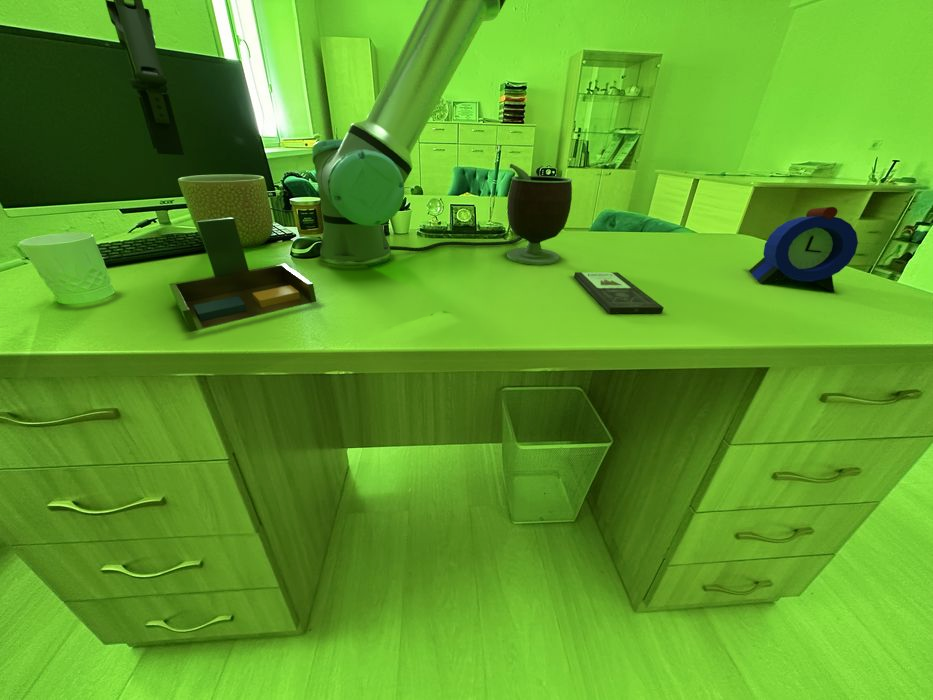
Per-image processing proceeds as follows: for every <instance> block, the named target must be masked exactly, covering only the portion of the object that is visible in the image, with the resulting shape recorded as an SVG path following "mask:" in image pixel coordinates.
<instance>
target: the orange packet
mask: <svg viewBox="0 0 933 700" xmlns="http://www.w3.org/2000/svg"><path fill="white" fill-rule="evenodd" d="M252 295H253V298H254V300H255V301H256V302H257V304H258V305H259V306H260V307H261V308H262V307H266V306H271V305H275V304H279V303H284V302H288V301H292V300H297V299H300V294H299V291H297V290H296V289H295V288H294V287H292V286H291V285H289V286H284V287H279V288H274V289H269V290H265V291H260V292H255V293H252Z"/></svg>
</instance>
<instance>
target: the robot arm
mask: <svg viewBox="0 0 933 700" xmlns="http://www.w3.org/2000/svg"><path fill="white" fill-rule="evenodd" d="M104 1H105V6H106V10H107V13H108V16H109V19H110V22H111V23H112V25H113V26H114V28H115V32H116V35H117V38H118V41H119V44H120V47H122V48H123V49H125V53H126V56H127V59H128V62H129V63H128V64H129V67H130V70H131V74H132V77H133V78H129V81H130V85H131V88H132V90H135V91H136V93H137V94H138V100H139V103H140V107H141V110H142V113H143V117H144V120H145V124H146V127H147V131H148V134H149V138H150V141H151V144H152V147H153V149H155V150H156V152H157V155H171V156H172V155H173V156H174V155H175V156H184V155H185V152H184V149H183V144H182V141H181V138H180V133H179V130H178V126H177V121H176V119H175V114H174V111H173V106H172V102H171V100H170V96H169V94H168V86H167V82H168V80H167V77H166V76H165V73H164V70H163V67H162V65H161V61H160V58H159V53H158V51H157V47H156V45H157V42H156V39H155V38H156V37H155V33H154V30H153V22H152V16H151V13H150V9H148V8H145V7H144V2H143V0H104ZM506 1H507V0H426V2H425V4H424V5H423V7H422V10H421V12H420V14H419V15H418V17H417V19H416V21H415V23H414V25H413V27H412V29H411V31H410V33H409V35H408V36H407V39H406V40H405V42H404V45H402V48H401V50H400V52H399V54H398V56H397V58H396V60H395V62H394V64H393V66H392V68H391V70H390V71H389V74H388V76H387V77H386V79H385V81H384V83H383V85H382V87H381V89H380V91H379V93H378V95H377V97H376V99H375V100H374V103H373V104H372V107H371V108H370V110H369V113H368V114H367V116H366V118H365V119H364V120H362V121H357V122H352V123H351V125H350V127H349V129H348V131H347V132H346V134H345V136H344V138H343V139H327V140H319V141H316V142H315V143H313V145H312V149H311V150H312V163H313V166H314V170H315V175H316V184H317V189H318V193H319V201H320V207H321V214H322V218H323V219H322V220H323V229H322V237H321V242H320V251H319V255H320V260H321V261H323V262H324V263H326V264H331V265H335V266H348V267H349V266H350V267H351V266H352V267H353V266H366V267H368V268H371V267H376V266H380V265H383V264H385V263H388V262H389V261H390V260H392V251H403V252H404V251H405V252H415V253H416V252H425V251H429V250H432V249H435V248H439V247H444V246H469V247H489V246H491V247H493V246H494V247H495V246H507V245H513V244H514V245H515V244H516V243H518V242H520V241H522V240H524V239H523V238H522V237H520V236H517V238H515V239H511V240H504V241H502V240H501V241H440V242H436V243H432V244H429V245H425V246H422V247H421V246H419V247H410V246H399V245H398V246H397V245H390V244H389V242H388V238H387V236H386V233H385V232H384V229H383V226H382V225H383V224H386V223H387V222H389V221H390V220H391V219H393V218H394V217H395V216H396V215H397V213H398V212H399V211H400V209H401V207H402V205H403V202H404V198H405V183H406V182H407V180H408V178H409V175H411V173H412V171H413V167H414V166H413V162H412V158H411V154H412V151H413V149H414V147H415V146H416V145H417V142H418V141H419V138H420V137H421V135H422V133H423V131H424V129H425V128H426V126H427V124H428V122H429V120H430V118H431V116H432V115H433V113H434V111H435V109H436V107H437V106H438V104H439V103H440V100H441V98H442V96H443V95H444V93H445V91H446V90H447V87H448V85H449V84H450V82H451V81H452V78H453V76H454V75H455V72H457V70H458V67H459V66H460V64H461V62H462V60H463V59H464V57H465V55H466V53H467V51H468V50H469V48H470V45H471V44H472V42H473V41H474V39H475V36H476V35H477V33H478V31H479V29H480V28H481V26H482V23H483V22H490V21H493V20H495V19H496V18H497V17H498V16H499V13H500V12H501V10H502V8H503V6H504V5H505V3H506Z"/></svg>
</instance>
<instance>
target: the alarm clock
mask: <svg viewBox="0 0 933 700" xmlns="http://www.w3.org/2000/svg"><path fill="white" fill-rule="evenodd" d="M838 212H839V211H838V209H837V207H835V206H828V207H827V206H826V207H825V206H824V207H815V208H810V209H808V210H807V212H806V214H805V216H799V217H796V218H793V219H790V220H787V221H786V222H784V223H783V224H781V225H779V226H777V227H776V228H775V229H774V230H773V232H772V233H770V234H769V236H768V238H767V240H766V242H765V243H764V248H763V254H762V255H763V258H761V259H760V260H759V261H758V262H757V263H755V264H754V265H753V266H752V267H751V268H750V269H749V270H748V272H749V273H750V274H751V275H752V277H754V278H755V280H756V281H757V282H758V283H759V284H760V285H761V284H766V283H771V282H776V281H781V280H786V278H788V279H792V280H795V281H799V282H813V283H816V284H817V285H819V286H821V287H823V288H825V289H826V290H828V291H830V292H832V293H835V287H834V286H835V285H834V280H833V276H834V275H836V274H838V273H840V272H841V271H842V270H843V269H845V268H846V267H847V266H848V265H849V264H850V262H851V261H852V259H853V258H854V256H855V255H856V253H857V247H858V245H859V241H858V235H857V231H856V230H855V228H854V227H853V226H852V224H851V223H850V222H848V221H846V220H845V219H843V218H841V217H837V215H838Z"/></svg>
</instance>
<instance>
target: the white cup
mask: <svg viewBox="0 0 933 700" xmlns="http://www.w3.org/2000/svg"><path fill="white" fill-rule="evenodd" d="M18 244H19V245H20V247H21V249H22V251H23V252H24V254H25V255H26V257H27V259H29V261H30V263H31V264H32V266H33V267H34V269H35V270H36V272H37V274H38V275H39V277H40V278H41V279H42V280H43V282H44V284H45V285H46V287H47V288H48V290H50V291H51V292H52V294H53V296H54V298H55V299H56V301H57V302H58V303H59V304H62V305H78V304H86V303H87V304H88V303H92V302H95V301H96V302H97V301H100V300H102V299H105V298H109V297H110V296H112V295H114V294H115V293H116V290H115V288H114V286H113V283H112V278H111V275H110V274H109V270H108V269H107V266H106V263H105V260H104V258H103V256H102V253H101V251H100V248H99V246H98V243H97V241H96V239H95V236H94V234H93V233H90V232H82V231H81V232H80V231H77V232H58V233H51V234H44V235H37V236H33V237H32V236H31V237H28V238H25V239H22V240H20V241H19V242H18Z"/></svg>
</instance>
